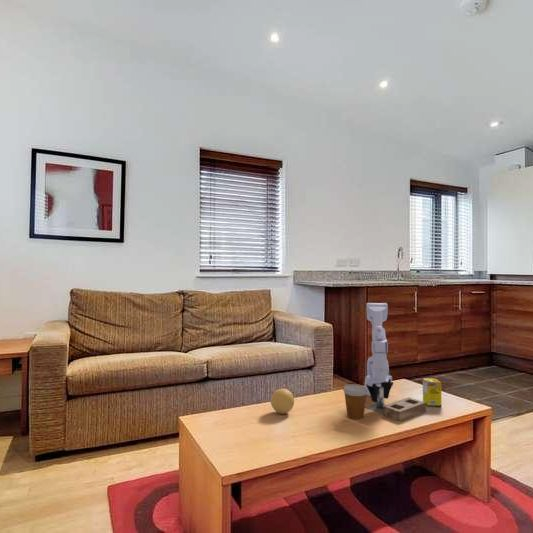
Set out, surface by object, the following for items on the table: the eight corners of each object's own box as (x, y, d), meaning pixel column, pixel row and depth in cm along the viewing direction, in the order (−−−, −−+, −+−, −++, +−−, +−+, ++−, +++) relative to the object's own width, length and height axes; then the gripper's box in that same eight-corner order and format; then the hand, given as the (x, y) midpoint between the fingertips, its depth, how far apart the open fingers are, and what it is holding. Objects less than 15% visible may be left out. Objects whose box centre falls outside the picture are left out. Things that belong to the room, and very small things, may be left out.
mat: (365, 408, 162) (365, 407, 162) (379, 403, 168) (379, 402, 168) (382, 414, 155) (382, 413, 155) (397, 409, 161) (397, 408, 161)
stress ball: (290, 420, 151) (303, 400, 157) (275, 404, 149) (288, 384, 154) (276, 416, 160) (289, 397, 165) (262, 401, 157) (275, 382, 162)
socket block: (383, 415, 153) (383, 406, 153) (408, 406, 164) (408, 397, 164) (400, 422, 147) (400, 411, 147) (425, 411, 157) (425, 402, 157)
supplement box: (441, 407, 163) (441, 382, 163) (428, 407, 163) (427, 382, 163) (436, 402, 169) (435, 378, 169) (422, 402, 169) (422, 378, 169)
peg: (375, 407, 162) (374, 386, 162) (379, 405, 164) (379, 385, 164) (380, 409, 160) (380, 388, 160) (385, 407, 161) (385, 387, 161)
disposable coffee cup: (370, 421, 147) (370, 391, 148) (346, 421, 147) (346, 391, 148) (363, 412, 157) (363, 383, 157) (341, 412, 157) (341, 384, 157)
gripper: (376, 372, 154) (377, 405, 154) (397, 367, 163) (398, 398, 163) (363, 369, 160) (363, 401, 160) (384, 364, 169) (384, 394, 168)
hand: (380, 399), depth 162 cm, fingers open, 7 cm apart
